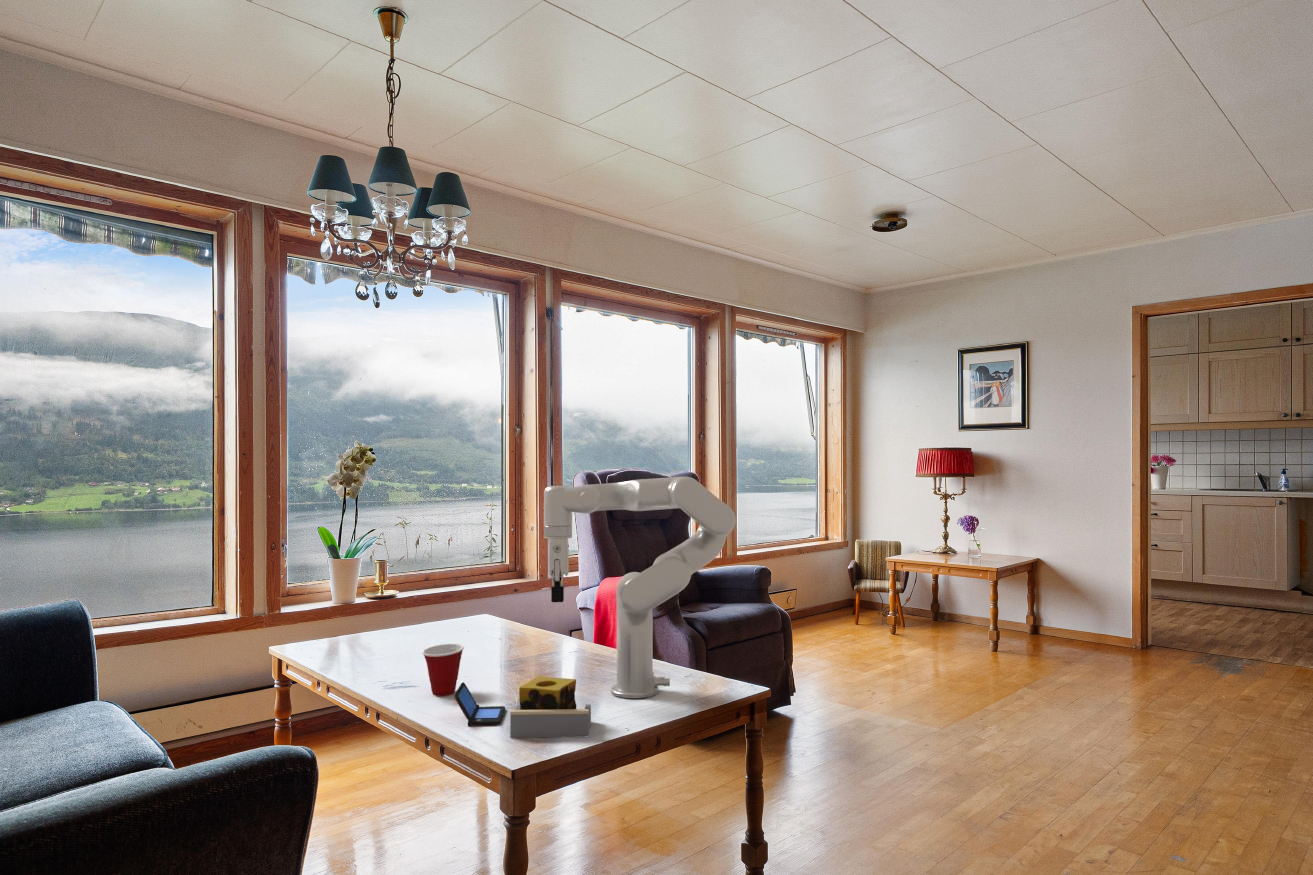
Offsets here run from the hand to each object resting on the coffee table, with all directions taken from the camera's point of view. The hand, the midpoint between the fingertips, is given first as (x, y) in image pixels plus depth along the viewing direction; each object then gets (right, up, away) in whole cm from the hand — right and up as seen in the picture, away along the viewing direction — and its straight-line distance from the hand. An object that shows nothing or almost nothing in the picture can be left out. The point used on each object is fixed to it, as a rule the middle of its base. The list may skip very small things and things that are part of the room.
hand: (557, 601), depth 203 cm
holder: (+2, -23, -29) cm, 37 cm away
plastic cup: (-31, -25, 0) cm, 39 cm away
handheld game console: (-16, -24, -20) cm, 35 cm away
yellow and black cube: (+1, -23, -26) cm, 35 cm away
